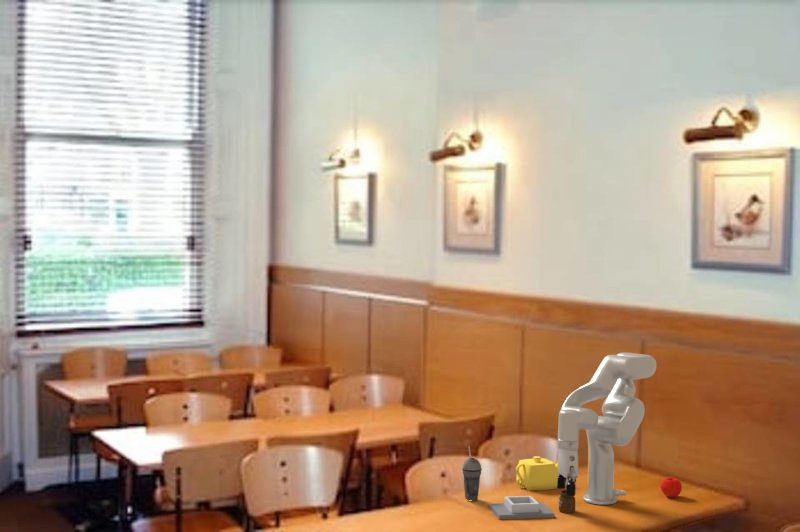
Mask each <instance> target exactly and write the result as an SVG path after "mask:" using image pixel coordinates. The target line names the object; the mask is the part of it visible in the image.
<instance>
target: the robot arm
mask: <svg viewBox="0 0 800 532" xmlns="http://www.w3.org/2000/svg"><path fill="white" fill-rule="evenodd" d="M656 371H657V361H656V359H655V357H653V356H652V355H650V354H643V353H635V352H634V353H633V352H627V351H626V352H624V351H623V352H619V353H617V354H608V355H606V356H604V358H603V359H602V361H601V362H600V364H599V365H598V367H597V369H596V370H595V372H594V373H593V376H591V379H590V380H589V382H588V383H585V384H584V385H582V386H580V387H579V388H577V389H576V390H574V391H573V392H571V393H570V394H569V395H568V396H567V397H566V399H565V401H564V403H563V404H562V406H561V408H560V410H559V413H558V420H557V421H558V422H557V425H558V428H557V446H556V448H557V449H558V454H557V462H558V465H557V469H558V474H557V487H556V489H559V490H560V489H561V490H566V495H567V496H574V497H575V496H576V487H577V486H576V484H577V479H578V478H579V453H578V450H579V447H580V446H579V444H580V430H584V431H585V432H586V433H585V434H586V437H587V449H588V450H587V452H588V453H587V455H588V456H587V489H586V490H587V491H586V494H584V495H582V500H583V501H584V502H586V503H590V504H592V505H593V504H594V505H599V506H600V505H602V506H603V505H604V506H605V505H606V506H607V505H608V506H609V505H614V504H616V503H618V497H619V496H621V497H625V496H626V495H627V492H626V490H620V489H615V488H614V479H615V478H614V475H615V473H614V472H615V471H614V470H615V469H614V468H615V454H614V449H613V447H612V445H614V446H619V447H625V446H627V445H629V444H630V443H631V441H632V439H633V437H634V436H635V435H636V433H637V431H638V429H639V427H640V425H641V423H642V421H643V420H644V417H645V410H646V409H645V405H644V402H643V401H642V400H640V399H639V398H638V397H637V398H636V397H634V396H635V394H636V390H637V389H636V386H635V383H634V380H642V379H647V378H650V377H652V376H653V375H654V374H655V372H656ZM604 398H606V399H604ZM600 399H604V401H603V404H602V407H601V413H602V415H598V414H597V412H596V410H593V409H591V408H585V407H582V406H583V405H584V404H587V403H589V402H592V401H596V400H597V401H598V400H600ZM565 480H566V488H565Z"/></svg>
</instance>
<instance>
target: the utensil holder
mask: <svg viewBox="0 0 800 532" xmlns="http://www.w3.org/2000/svg"><path fill="white" fill-rule="evenodd" d="M566 484H567V479H566V480H565V488H566ZM559 495H560V496H559V497H558V511H559V512H560V513H563V514H573V513H575V512H576V497H575V496H567V495H566V489H561V490H560V492H559Z"/></svg>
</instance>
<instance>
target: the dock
mask: <svg viewBox="0 0 800 532" xmlns="http://www.w3.org/2000/svg"><path fill="white" fill-rule="evenodd" d="M488 509H489V510H490V511H491V510H492V511H493V512H492V513H493V514H494V516H495V517H496V518H497V517H498V518H497V519H498V520H521V519H523V520H525V519H549V518H551V519H553V518H555V512H553V510H552V509H550V508H549V507H548V506H547V505H546V504H545V503H544V502H543V501H540V502H539V501H537V500H536V498H534V497H533V496H531V495H517V496H515V495H514V496H503V502H502V503H501V502H500V503H499V502H498V503H488Z"/></svg>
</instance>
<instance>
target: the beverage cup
mask: <svg viewBox="0 0 800 532" xmlns="http://www.w3.org/2000/svg"><path fill="white" fill-rule="evenodd" d="M468 454H469V455H468V456H469V458H467V459H466V460H465V461H464V462H463V464H462V468H461V469H462V475H463V484H464V485H463V486H464V487H463V488H464V497H465V498H464V499H467V500H472V501H471V502H475V501H474V500H477V501H478V498H479V488H480V480H481V479H480V478H481V475H482V464H481V462H480V461H479V460H478V459H477V458H474V457H472V455H471V454H472V453H471V447H470V445H469V446H468ZM467 500H466V501H467Z"/></svg>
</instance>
